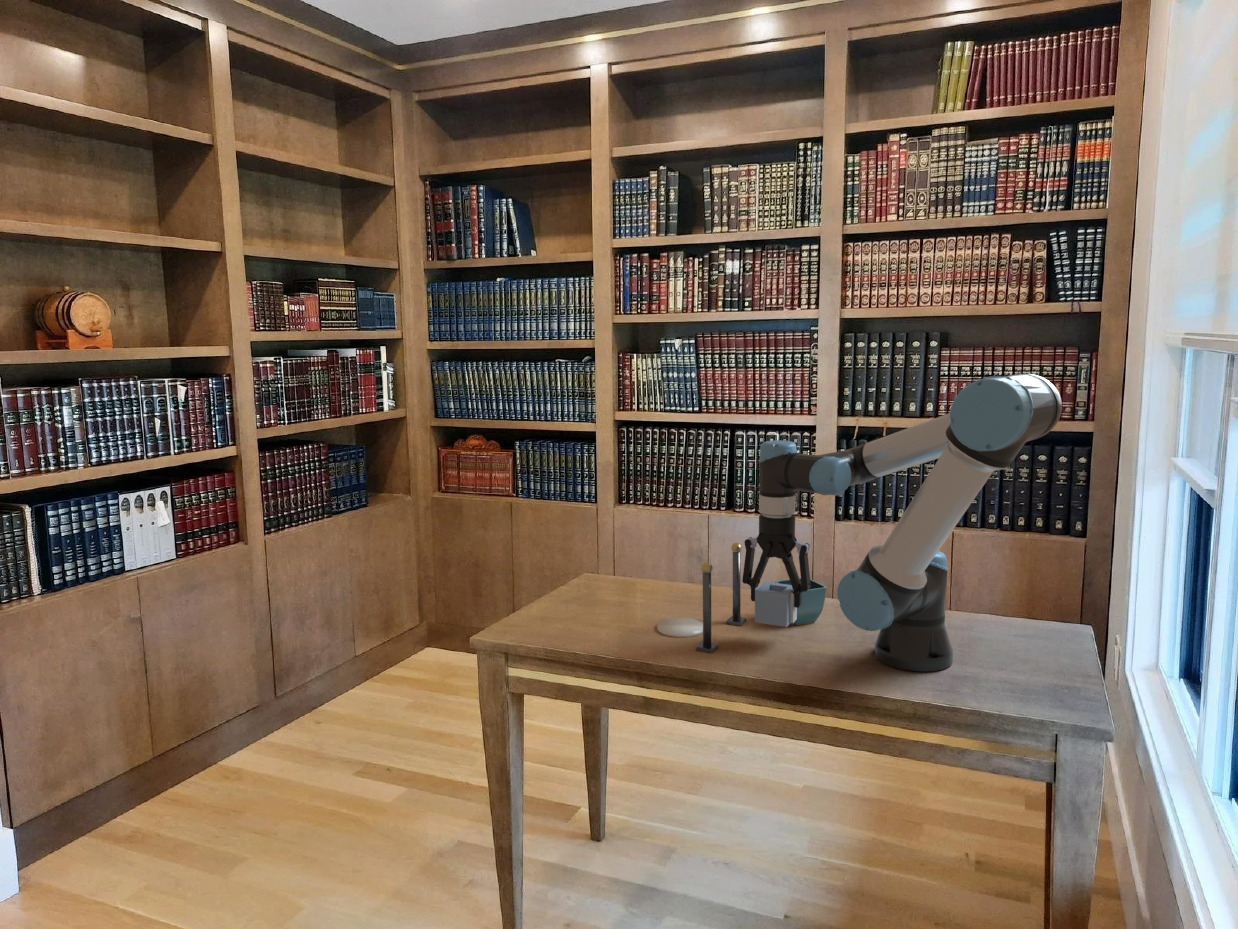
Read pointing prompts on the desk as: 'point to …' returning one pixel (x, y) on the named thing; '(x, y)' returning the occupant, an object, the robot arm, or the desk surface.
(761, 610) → the hollow square tube
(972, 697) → the desk surface
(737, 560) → the gold-tipped post pair
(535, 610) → the desk surface
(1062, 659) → the desk surface
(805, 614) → the flower pot
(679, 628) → the white round disc
